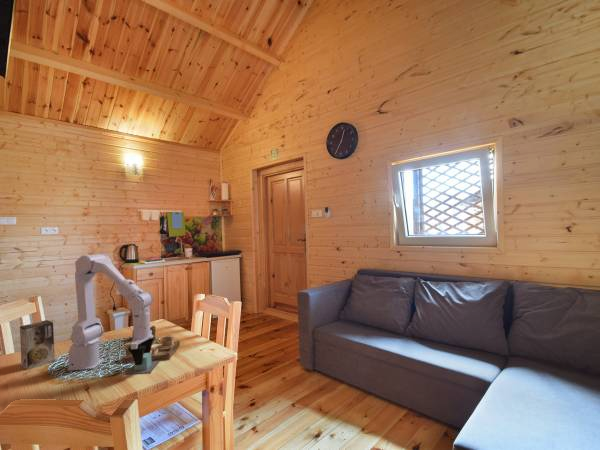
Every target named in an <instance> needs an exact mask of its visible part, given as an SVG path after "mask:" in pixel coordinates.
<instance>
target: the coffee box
mask: <svg viewBox="0 0 600 450" xmlns="http://www.w3.org/2000/svg"><path fill="white" fill-rule="evenodd" d="M19 333H20V334H19V336H20V363H21V364H20V365H21V366H20V367H22V368H24V369H25V370H31V369H33V368H36V367H39V366H42V365H45V364H48V363H52V362H55V360H56V356H55V338H54V337H55V333H54V322H53V321H50V320H48V319H45V320H41V321H36V322H32V323H28V324H25V325H21V326H19Z"/></svg>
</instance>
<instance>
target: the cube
mask: <svg viewBox="0 0 600 450" xmlns="http://www.w3.org/2000/svg"><path fill="white" fill-rule="evenodd" d="M152 362H153V361H152V359H151V353H144V354H143V362H142V365H135V362H133V365H134V370H147V369H148V368H149V367H150V366H151V364H152Z"/></svg>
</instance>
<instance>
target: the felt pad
mask: <svg viewBox="0 0 600 450" xmlns="http://www.w3.org/2000/svg"><path fill="white" fill-rule="evenodd" d="M159 363H160V360H155V361H152V364H151V366H150V367H149V368H148V369H147V370H134V364H133V365H132V366H131V367H130V368H129V369H128V370H127V371H126V372H125V373H124V375H125V376H128V375H145V374H151V373H152V372H153V371H154V370H155V368H156V367H157V366H158V365H159Z"/></svg>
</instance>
